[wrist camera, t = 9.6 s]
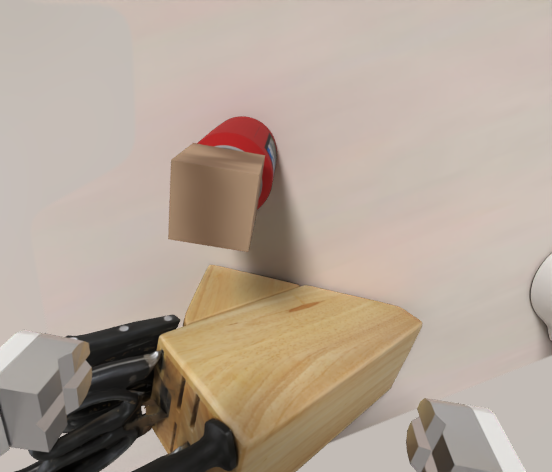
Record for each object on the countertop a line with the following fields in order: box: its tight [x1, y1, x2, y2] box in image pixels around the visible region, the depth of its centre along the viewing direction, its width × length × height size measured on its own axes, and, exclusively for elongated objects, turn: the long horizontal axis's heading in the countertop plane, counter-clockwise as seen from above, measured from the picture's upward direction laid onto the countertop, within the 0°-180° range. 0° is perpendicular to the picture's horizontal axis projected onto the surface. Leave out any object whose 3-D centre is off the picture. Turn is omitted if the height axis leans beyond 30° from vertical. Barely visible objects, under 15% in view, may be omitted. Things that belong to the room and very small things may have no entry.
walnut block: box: [168, 143, 265, 252], centre depth 23 cm, size 5×5×5 cm
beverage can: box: [197, 117, 277, 209], centre depth 31 cm, size 7×7×12 cm
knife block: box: [15, 265, 422, 472], centre depth 31 cm, size 11×35×31 cm, turn 76°
